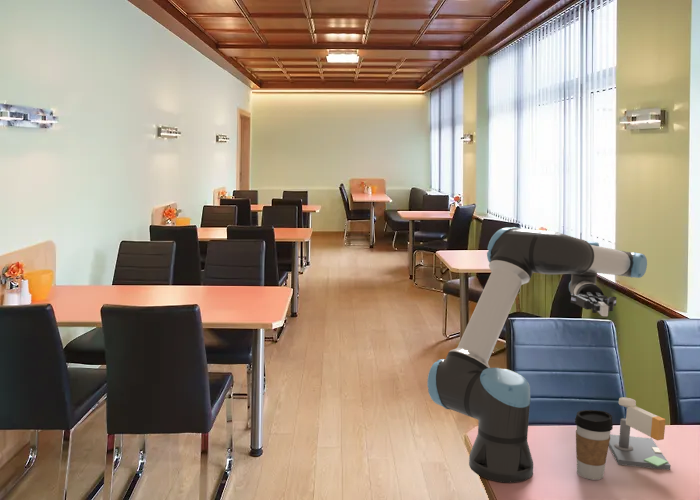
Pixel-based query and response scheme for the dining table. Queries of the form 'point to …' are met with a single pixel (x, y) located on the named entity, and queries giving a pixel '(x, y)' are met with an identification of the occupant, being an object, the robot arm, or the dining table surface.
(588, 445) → the coffee cup
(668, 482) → the dining table surface
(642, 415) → the orange tipped swivel lever
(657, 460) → the tuner board
